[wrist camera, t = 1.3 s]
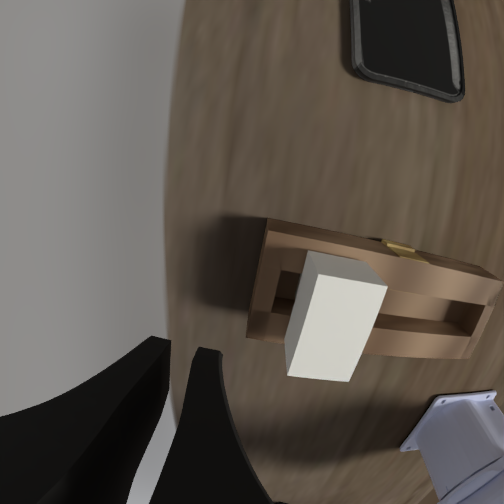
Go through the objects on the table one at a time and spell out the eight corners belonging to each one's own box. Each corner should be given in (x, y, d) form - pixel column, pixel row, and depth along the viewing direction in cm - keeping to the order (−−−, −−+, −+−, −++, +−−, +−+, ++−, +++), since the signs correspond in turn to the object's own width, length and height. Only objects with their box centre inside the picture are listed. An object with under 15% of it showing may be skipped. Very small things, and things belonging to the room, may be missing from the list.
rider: (355, 249, 16) (387, 286, 11) (330, 327, 17) (348, 381, 13) (302, 239, 16) (318, 273, 11) (282, 320, 17) (287, 375, 13)
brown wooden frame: (480, 264, 17) (504, 279, 14) (449, 339, 19) (467, 361, 16) (268, 214, 17) (268, 226, 14) (248, 314, 19) (245, 340, 16)
